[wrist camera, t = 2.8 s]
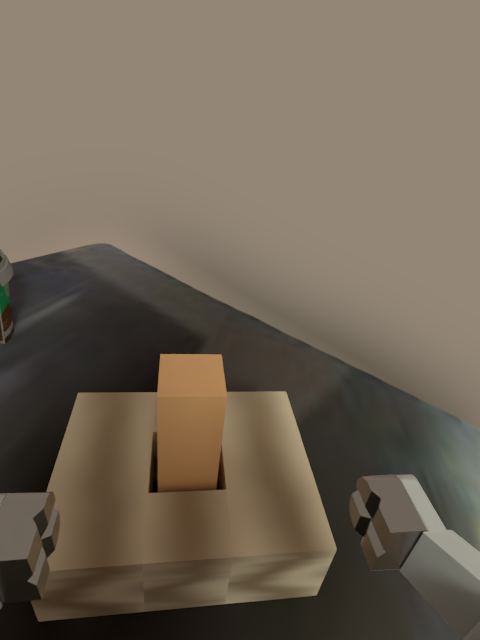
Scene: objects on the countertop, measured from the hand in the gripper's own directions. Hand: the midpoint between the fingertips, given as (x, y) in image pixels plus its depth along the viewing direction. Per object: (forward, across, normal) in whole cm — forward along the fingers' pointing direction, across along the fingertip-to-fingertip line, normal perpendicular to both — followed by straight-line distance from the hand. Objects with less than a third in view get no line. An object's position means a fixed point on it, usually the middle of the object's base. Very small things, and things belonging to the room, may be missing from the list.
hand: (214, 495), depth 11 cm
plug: (+12, 0, +20) cm, 24 cm away
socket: (+12, 0, +20) cm, 24 cm away
